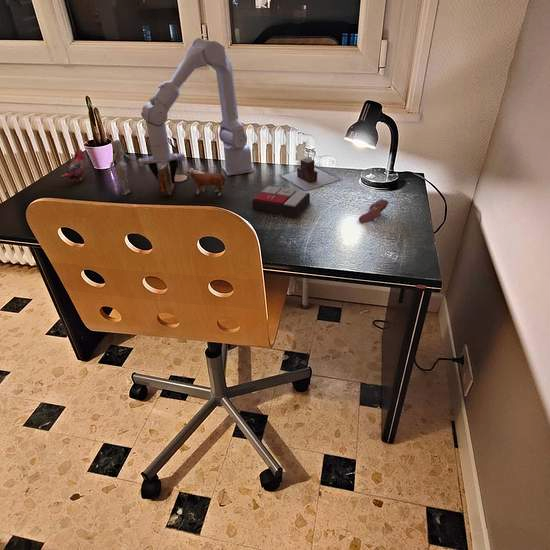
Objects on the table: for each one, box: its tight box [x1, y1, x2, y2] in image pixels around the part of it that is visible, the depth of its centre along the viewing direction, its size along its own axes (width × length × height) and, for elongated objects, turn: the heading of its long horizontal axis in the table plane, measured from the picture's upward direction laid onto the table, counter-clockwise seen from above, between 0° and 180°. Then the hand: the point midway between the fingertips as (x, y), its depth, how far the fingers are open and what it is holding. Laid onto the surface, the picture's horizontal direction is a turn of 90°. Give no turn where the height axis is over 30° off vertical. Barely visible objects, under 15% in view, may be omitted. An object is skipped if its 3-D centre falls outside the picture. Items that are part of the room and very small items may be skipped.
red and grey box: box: [251, 185, 311, 219], centre depth 131 cm, size 11×4×15 cm
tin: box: [157, 162, 175, 197], centre depth 140 cm, size 15×3×8 cm, turn 3°
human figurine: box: [107, 139, 136, 196], centre depth 135 cm, size 12×4×18 cm, turn 155°
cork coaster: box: [175, 174, 188, 183], centre depth 150 cm, size 6×6×1 cm
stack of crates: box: [280, 157, 340, 191], centre depth 147 cm, size 15×15×7 cm
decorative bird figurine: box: [59, 148, 86, 184], centre depth 145 cm, size 3×18×10 cm, turn 174°
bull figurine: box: [186, 167, 226, 197], centre depth 138 cm, size 4×13×8 cm, turn 73°
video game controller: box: [358, 198, 389, 224], centre depth 123 cm, size 10×5×7 cm, turn 148°
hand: (166, 183), depth 141 cm, fingers closed on tin, 4 cm apart
